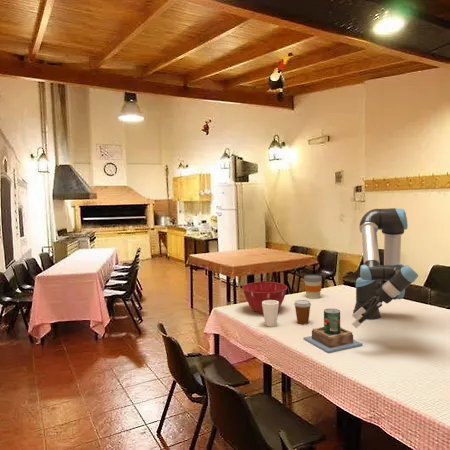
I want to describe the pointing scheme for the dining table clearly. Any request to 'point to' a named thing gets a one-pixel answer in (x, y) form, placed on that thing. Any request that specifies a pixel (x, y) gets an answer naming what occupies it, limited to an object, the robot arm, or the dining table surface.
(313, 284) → the reusable coffee cup
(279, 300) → the mixing bowl
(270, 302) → the foam cup
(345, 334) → the walnut block
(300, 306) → the disposable coffee cup
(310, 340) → the board
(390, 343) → the dining table surface
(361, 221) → the robot arm
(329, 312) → the canned tomato
